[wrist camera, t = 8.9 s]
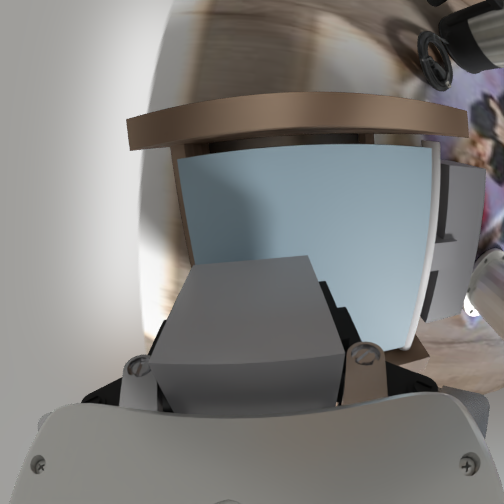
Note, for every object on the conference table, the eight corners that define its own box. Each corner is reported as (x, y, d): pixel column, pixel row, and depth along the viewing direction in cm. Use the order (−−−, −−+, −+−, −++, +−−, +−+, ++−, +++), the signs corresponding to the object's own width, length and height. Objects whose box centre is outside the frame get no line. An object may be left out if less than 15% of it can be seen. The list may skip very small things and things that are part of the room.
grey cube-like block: (307, 255, 12) (345, 353, 6) (307, 342, 13) (326, 441, 8) (193, 265, 12) (148, 362, 6) (213, 349, 14) (194, 446, 8)
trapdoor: (447, 144, 17) (496, 151, 11) (430, 297, 22) (461, 334, 17) (200, 148, 18) (175, 151, 12) (228, 323, 23) (221, 375, 18)
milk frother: (482, 40, 17) (547, 29, 4) (479, 124, 23) (559, 135, 10) (409, -11, 16) (467, -52, 3) (401, 75, 22) (487, 50, 9)
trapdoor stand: (365, 119, 25) (466, 110, 10) (364, 277, 32) (424, 370, 17) (197, 130, 26) (126, 119, 11) (221, 291, 33) (199, 400, 18)
